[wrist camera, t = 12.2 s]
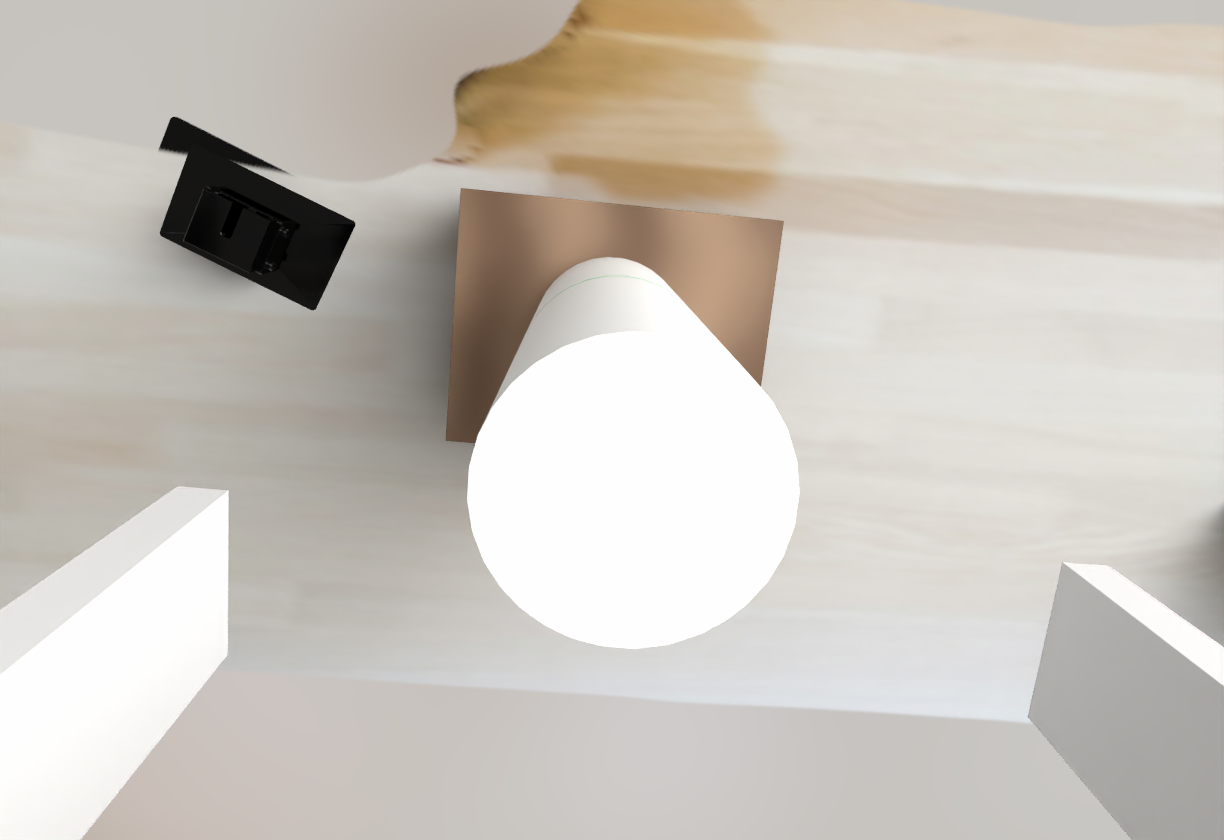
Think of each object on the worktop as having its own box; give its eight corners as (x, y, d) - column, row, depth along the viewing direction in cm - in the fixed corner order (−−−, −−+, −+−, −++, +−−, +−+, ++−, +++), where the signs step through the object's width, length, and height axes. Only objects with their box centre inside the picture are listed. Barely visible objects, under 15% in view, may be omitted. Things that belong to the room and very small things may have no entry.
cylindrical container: (610, 435, 45) (635, 708, 21) (503, 334, 44) (397, 501, 20) (714, 331, 44) (867, 491, 20) (607, 224, 43) (631, 258, 19)
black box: (388, 222, 51) (368, 225, 47) (335, 339, 53) (311, 352, 48) (174, 114, 50) (133, 106, 45) (126, 238, 51) (82, 242, 47)
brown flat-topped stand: (467, 404, 53) (445, 440, 45) (480, 190, 50) (460, 188, 43) (726, 428, 54) (749, 467, 46) (754, 217, 51) (783, 221, 43)
